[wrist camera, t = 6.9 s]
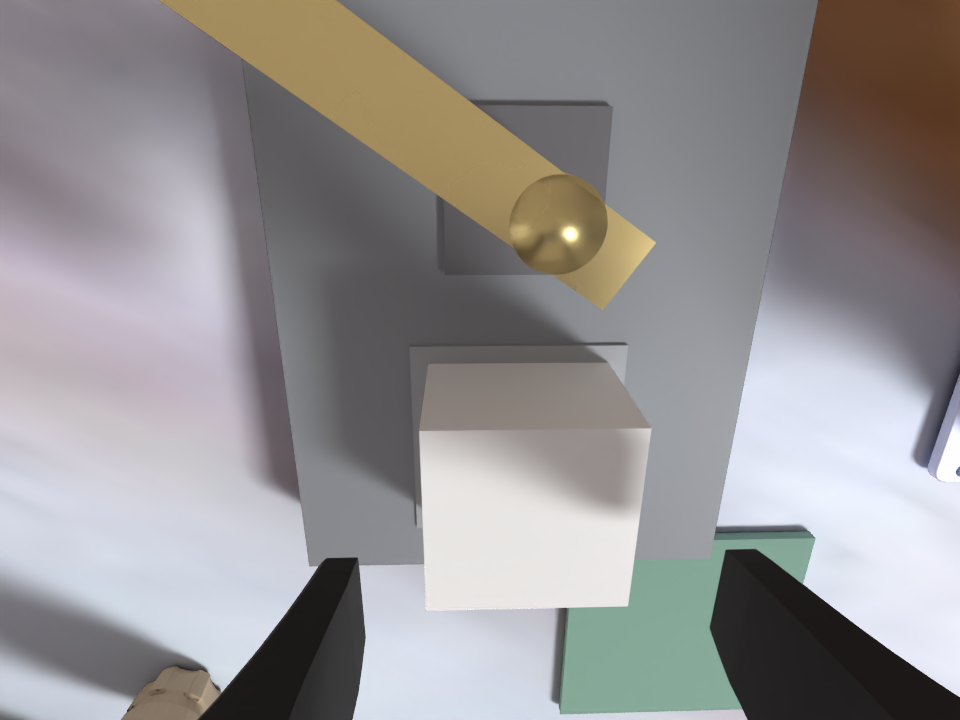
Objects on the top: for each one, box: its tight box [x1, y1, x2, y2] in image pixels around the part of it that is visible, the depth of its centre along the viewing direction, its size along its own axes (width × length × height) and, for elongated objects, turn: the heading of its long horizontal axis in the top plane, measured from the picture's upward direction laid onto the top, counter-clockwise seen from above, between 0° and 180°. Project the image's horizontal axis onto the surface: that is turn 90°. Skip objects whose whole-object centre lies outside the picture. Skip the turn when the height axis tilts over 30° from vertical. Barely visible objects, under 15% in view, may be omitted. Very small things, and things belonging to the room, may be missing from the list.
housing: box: [242, 0, 818, 566], centre depth 16 cm, size 13×16×3 cm
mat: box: [559, 531, 815, 714], centre depth 23 cm, size 9×9×1 cm
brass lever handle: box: [159, 0, 656, 310], centre depth 11 cm, size 2×8×5 cm, turn 55°
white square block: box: [419, 362, 652, 611], centre depth 15 cm, size 5×5×4 cm
